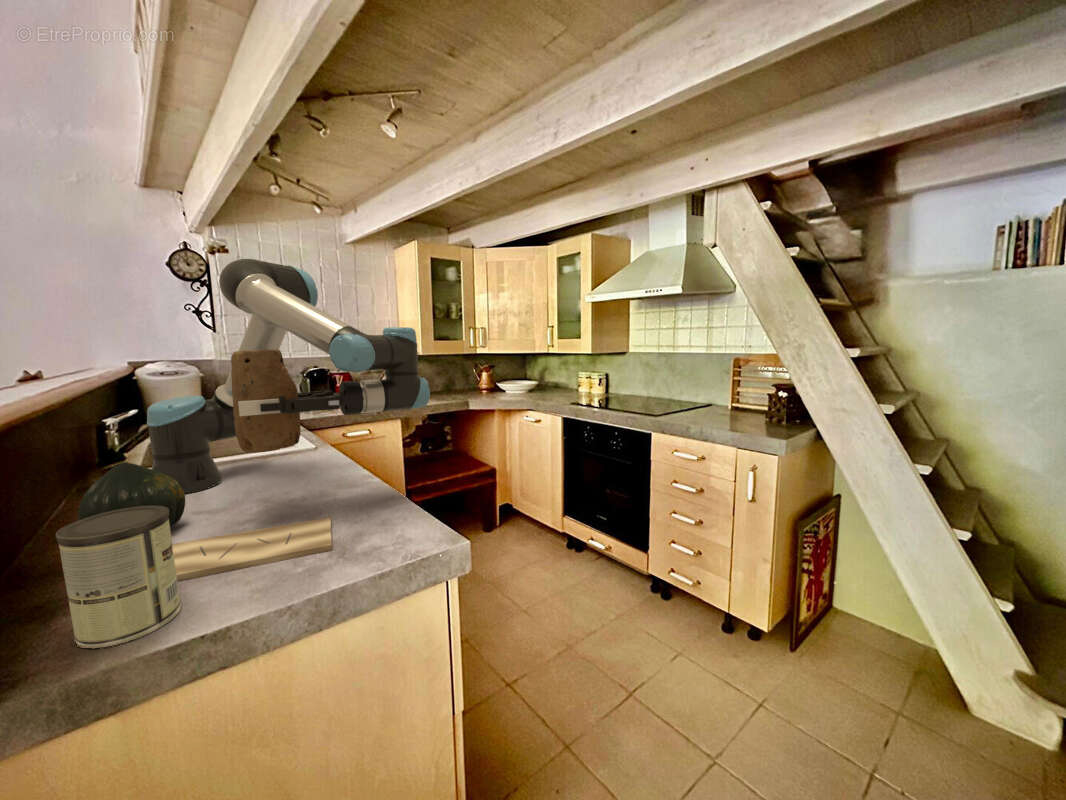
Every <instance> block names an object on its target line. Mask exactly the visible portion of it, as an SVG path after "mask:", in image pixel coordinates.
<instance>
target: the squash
mask: <svg viewBox="0 0 1066 800" xmlns="http://www.w3.org/2000/svg"><path fill="white" fill-rule="evenodd" d="M152 505H154V506H164V507H167V508H168V509H169V516H168V517H169V525H170V528H172V527H173V526H175V525H176V524H177V523H178V522H179V521H180V520H181V518H182V517H183V515H184V512H185V506H186V494H184V491H183V489H182V487H181V486H180V485H179V483H178V482H177V481H176V480H175V479H173V478H171V477H170V476H168V475H165V474H163V473H160V472H158V471H155V470H152V468H148V467H145V466H143V465H139V464H136V463H131V462H127V461H123V462H121V463H120V464H117V465H115V466H113V467H112V468H111V469H109V470H108V471H107V472H106V473H104V475H102V476H101V477H99V479H98V480H96V481H95V482H94V483H92V485H91V486H90V487H89V488H88V490H87V491H86V492H85V494H83V497H82V499H81V502H80V504H79V508H78V513H77V520H81V519H84V518H87V517H90V516H93V515H97V514H101V513H104V512H109V511H113V510H119V509H124V508H130V507H138V506H152Z"/></svg>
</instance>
